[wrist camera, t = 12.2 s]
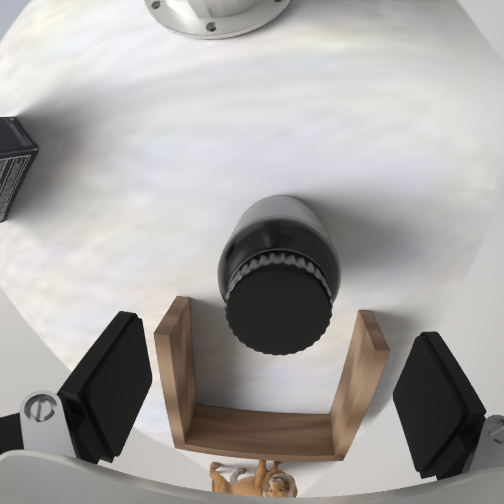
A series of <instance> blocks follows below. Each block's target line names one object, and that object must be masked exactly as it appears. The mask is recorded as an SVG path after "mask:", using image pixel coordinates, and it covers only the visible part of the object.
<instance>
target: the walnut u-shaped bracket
mask: <svg viewBox="0 0 504 504" xmlns="http://www.w3.org/2000/svg"><path fill="white" fill-rule="evenodd" d="M154 339H155V346H156V353H157V359H158V366H159V372H160V378H161V383H162V389H163V394H164V399H165V405H166V410H167V414H168V419H169V424H170V428H171V433H172V437H173V442H174V446H175V448H177V449H182V450H188V451H193V452H199V453H206V454H212V455H220V456H228V457H236V458H246V459H258V460H274V461H343V459H344V457H345V456H346V454H347V452H348V450H349V448H350V446H351V444H352V442H353V439H354V437H355V435H356V433H357V431H358V429H359V427H360V425H361V422H362V420H363V418H364V416H365V413H366V411H367V409H368V406H369V404H370V402H371V399H372V397H373V394H374V392H375V389H376V387H377V384H378V382H379V379H380V377H381V374H382V371H383V369H384V366H385V363H386V360H387V357H388V355H389V352H390V349H389V347H388V345H387V343H386V341H385V339H384V337H383V334H382V332H381V330H380V328H379V326H378V324H377V322H376V320H375V318H374V316H373V314H372V312H371V311H367V310H358V315H357V319H356V323H355V327H354V331H353V335H352V339H351V343H350V347H349V351H348V354H347V358H346V362H345V365H344V369H343V372H342V375H341V379H340V382H339V385H338V389H337V392H336V395H335V398H334V401H333V405H332V408H331V411H330V414H293V413H273V412H259V411H248V410H238V409H229V408H220V407H213V406H205V405H199V404H197V399H196V388H195V376H194V364H193V350H192V334H191V317H190V298H188V297H179V296H177V297H176V298H175V300H174V301H173V303H172V305H171V306H170V308H169V309H168V311H167V313H166V314H165V316H164V317H163V319H162V321H161V322H160V324H159V326H158V327H157V329H156V330H155V332H154Z"/></svg>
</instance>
